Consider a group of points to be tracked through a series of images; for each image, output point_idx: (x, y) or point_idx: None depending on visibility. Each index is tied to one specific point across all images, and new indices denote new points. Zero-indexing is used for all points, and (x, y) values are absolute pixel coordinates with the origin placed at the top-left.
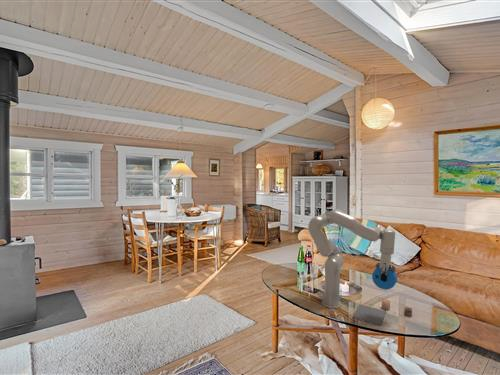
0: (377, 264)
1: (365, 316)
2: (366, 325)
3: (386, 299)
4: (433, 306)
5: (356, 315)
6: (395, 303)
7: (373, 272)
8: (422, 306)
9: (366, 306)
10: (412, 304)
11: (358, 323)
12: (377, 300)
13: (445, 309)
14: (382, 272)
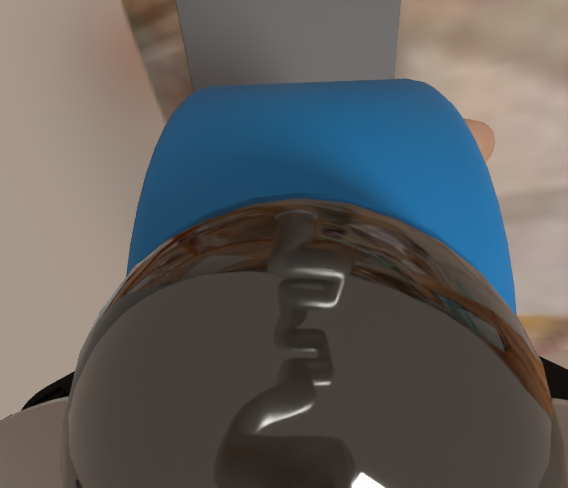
0: (67, 476)
1: (235, 69)
2: (157, 103)
3: (490, 147)
4: (562, 320)
5: (208, 9)
6: (542, 175)
7: (167, 127)
8: (545, 286)
9: (391, 24)
10: (558, 249)
11: (142, 55)
12: (561, 61)
13: (541, 352)
14: (40, 398)
